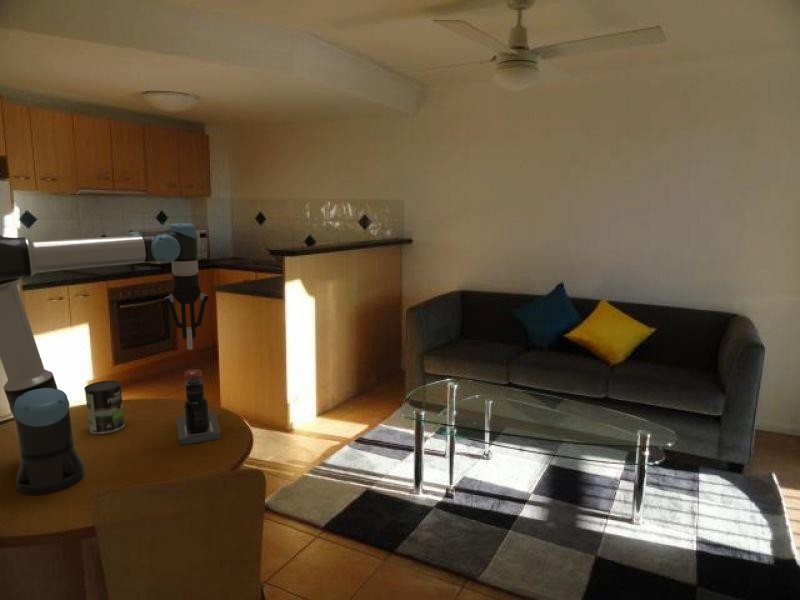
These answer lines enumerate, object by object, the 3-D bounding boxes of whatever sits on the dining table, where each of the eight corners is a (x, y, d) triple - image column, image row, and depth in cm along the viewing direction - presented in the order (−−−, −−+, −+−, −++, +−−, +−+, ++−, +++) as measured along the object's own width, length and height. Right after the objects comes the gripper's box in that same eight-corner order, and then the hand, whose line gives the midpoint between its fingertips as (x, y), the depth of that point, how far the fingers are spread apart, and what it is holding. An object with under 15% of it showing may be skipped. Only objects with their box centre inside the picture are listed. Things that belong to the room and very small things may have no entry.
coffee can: (132, 422, 187) (128, 381, 184) (110, 435, 177) (105, 392, 174) (104, 420, 189) (100, 379, 186) (81, 432, 179) (76, 389, 176)
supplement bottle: (212, 424, 180) (210, 387, 177) (205, 433, 173) (202, 395, 171) (191, 424, 180) (188, 387, 177) (182, 433, 173) (179, 395, 171)
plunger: (204, 410, 184) (201, 373, 181) (188, 412, 182) (185, 375, 179) (203, 405, 188) (200, 368, 186) (187, 407, 186) (184, 370, 184)
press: (221, 438, 175) (218, 395, 172) (179, 445, 170) (175, 400, 167) (215, 417, 191) (212, 377, 188) (176, 423, 186) (173, 381, 184)
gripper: (206, 271, 182) (210, 343, 187) (162, 273, 177) (167, 347, 182) (208, 274, 176) (212, 349, 180) (162, 276, 170) (168, 353, 175)
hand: (190, 348), depth 181 cm, fingers closed
